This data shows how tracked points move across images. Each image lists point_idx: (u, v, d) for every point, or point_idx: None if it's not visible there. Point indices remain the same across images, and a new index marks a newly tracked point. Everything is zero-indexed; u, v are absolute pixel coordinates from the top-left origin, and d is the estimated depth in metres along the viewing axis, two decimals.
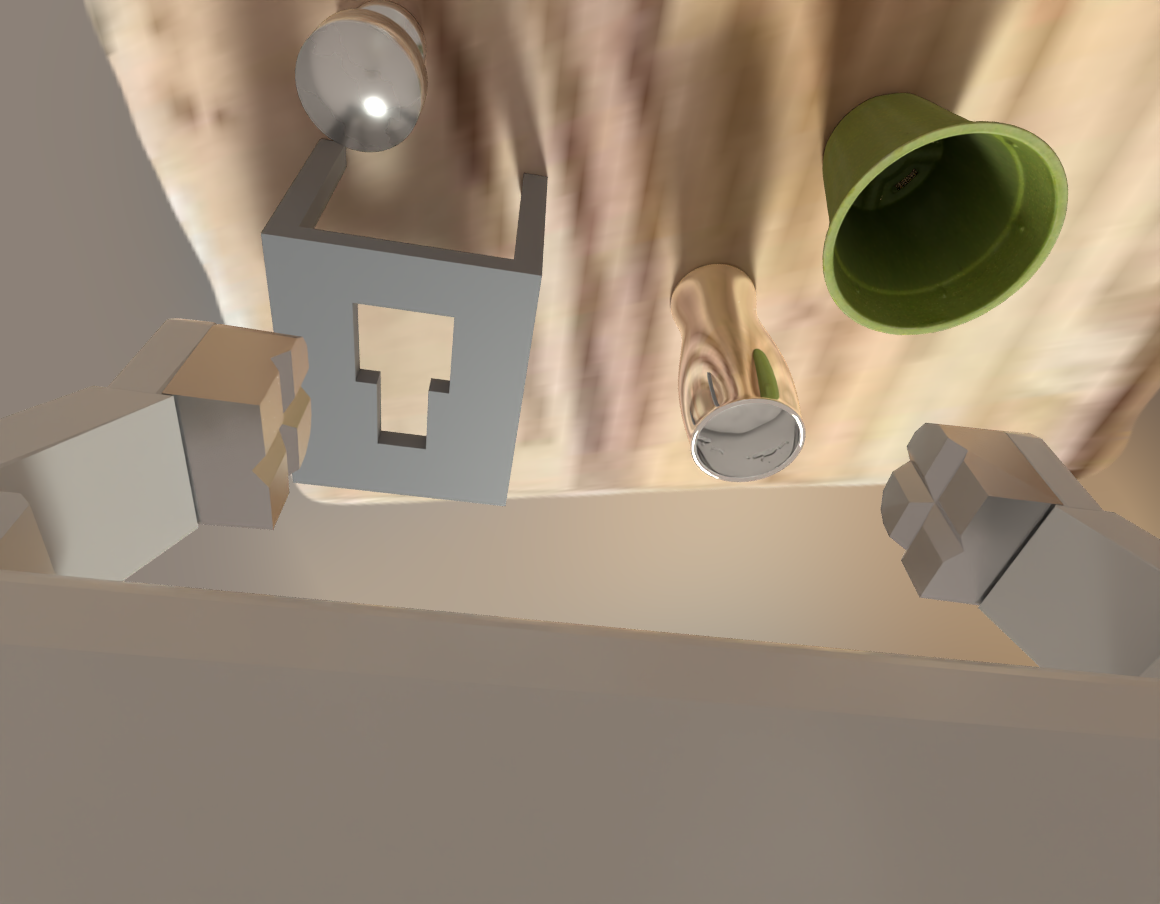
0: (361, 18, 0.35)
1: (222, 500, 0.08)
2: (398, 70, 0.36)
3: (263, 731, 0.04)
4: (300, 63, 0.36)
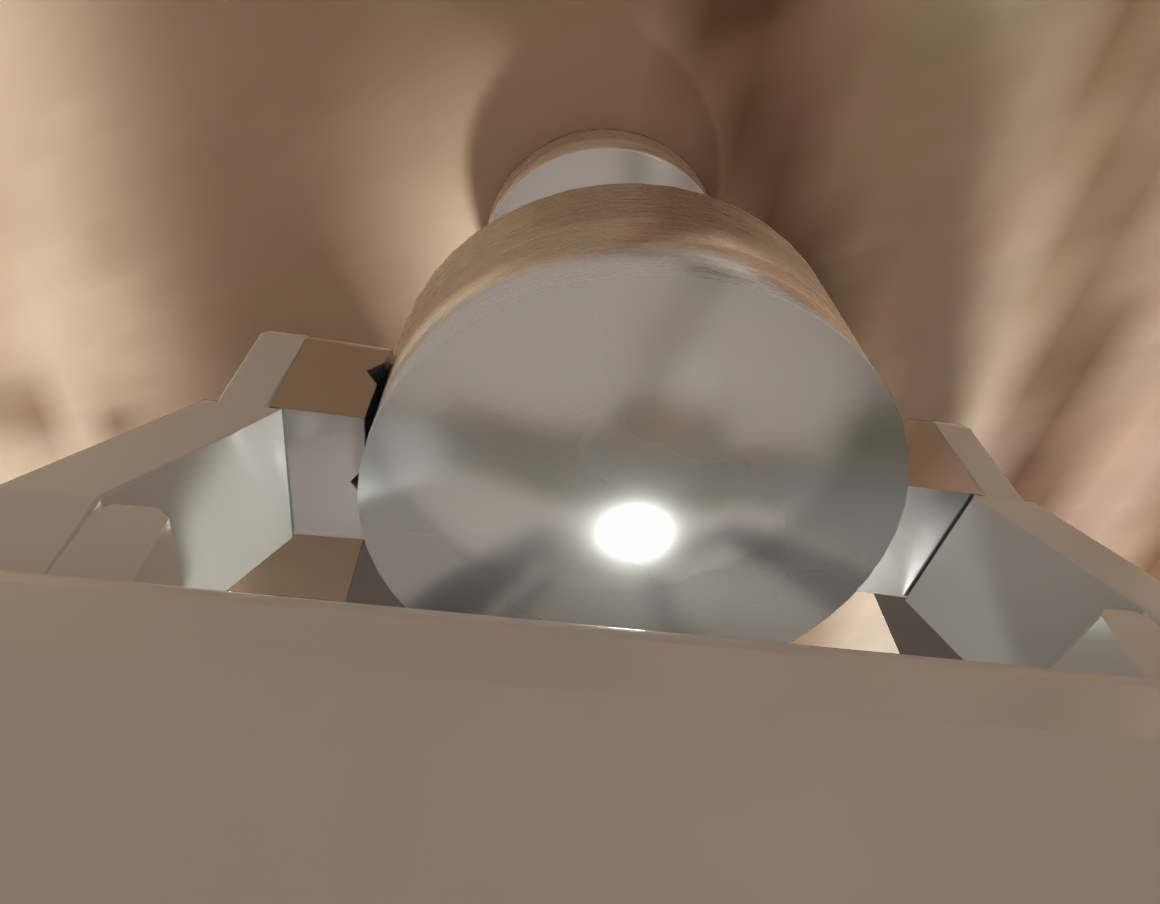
0: (697, 244, 0.07)
1: (318, 510, 0.08)
2: (837, 460, 0.08)
3: (263, 731, 0.04)
4: (387, 441, 0.07)
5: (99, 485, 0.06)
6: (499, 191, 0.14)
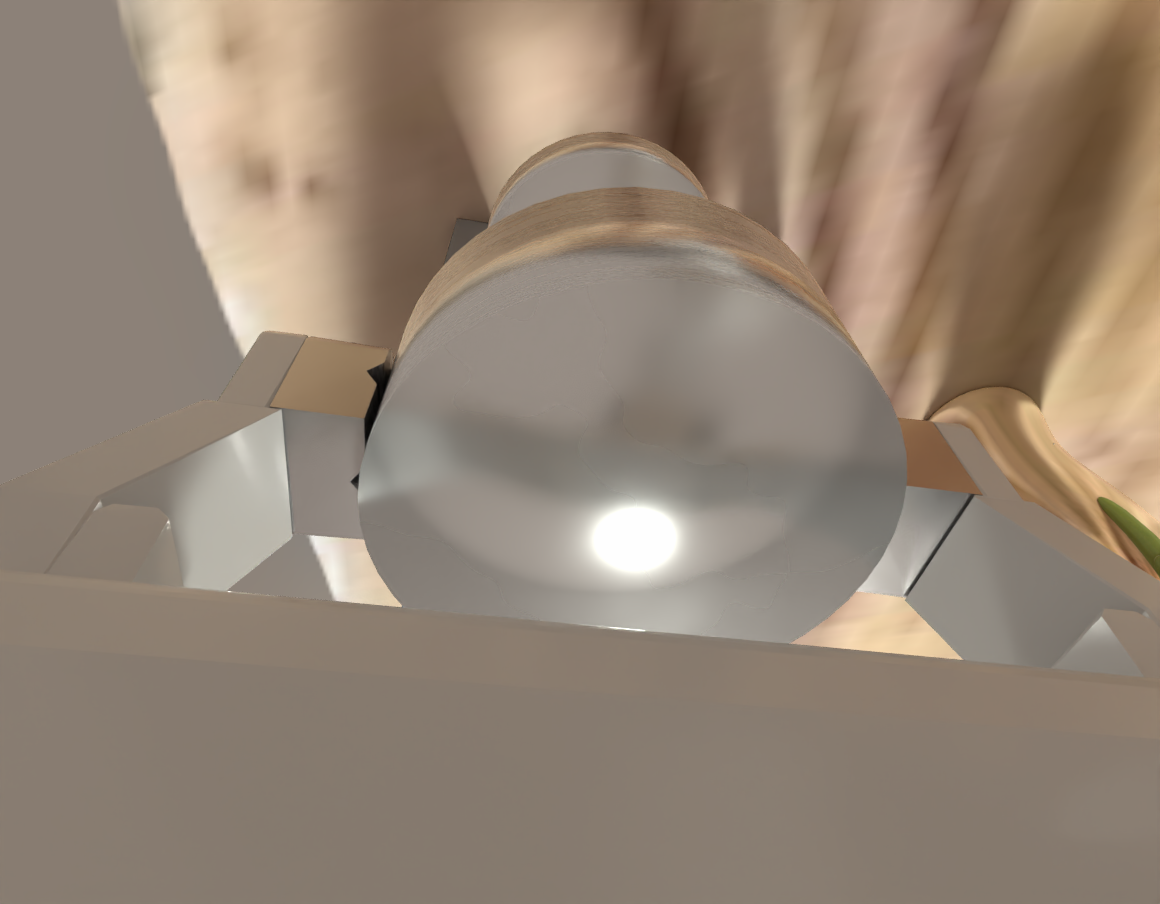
0: (694, 248, 0.07)
1: (317, 510, 0.08)
2: (835, 462, 0.08)
3: (263, 731, 0.04)
4: (387, 444, 0.08)
5: (99, 485, 0.06)
6: (499, 194, 0.14)
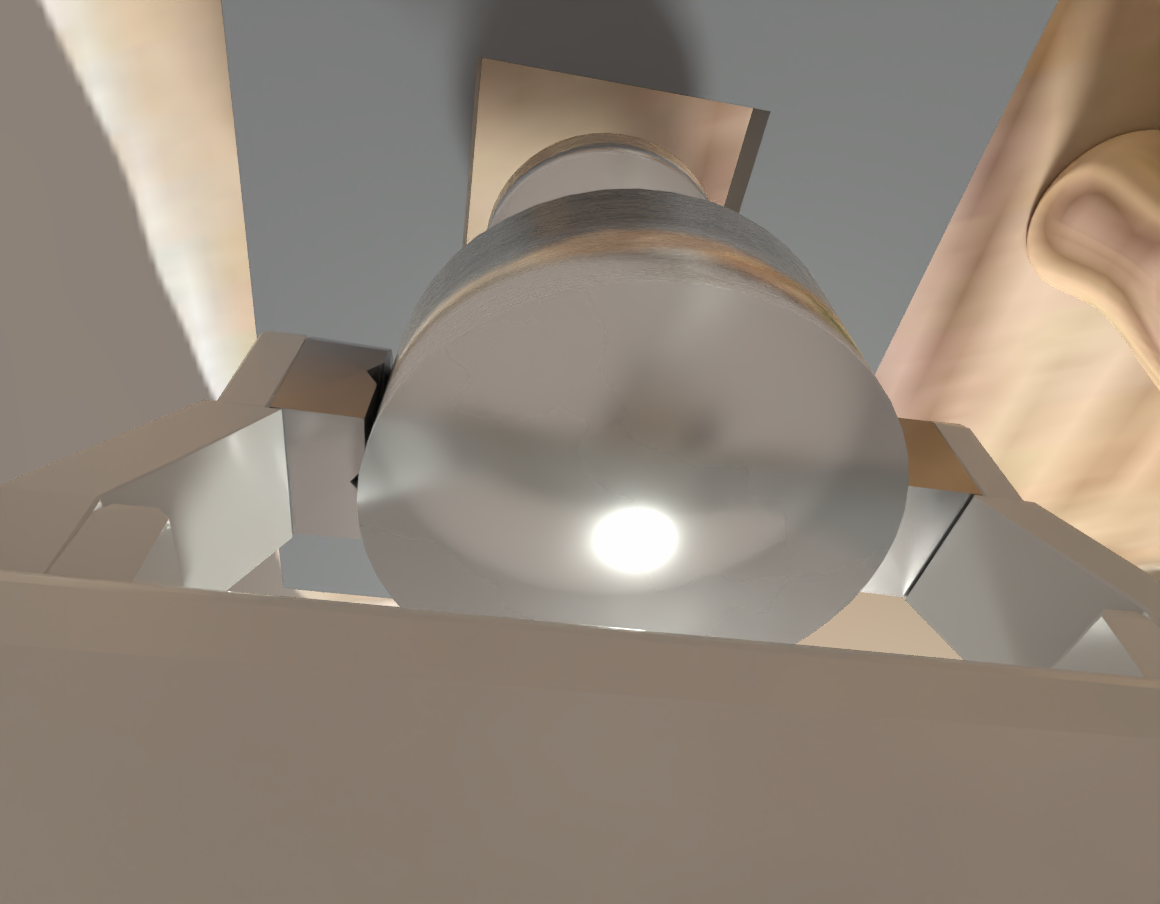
0: (696, 251, 0.07)
1: (318, 510, 0.08)
2: (837, 465, 0.08)
3: (263, 731, 0.04)
4: (386, 447, 0.07)
5: (99, 485, 0.06)
6: (499, 194, 0.14)
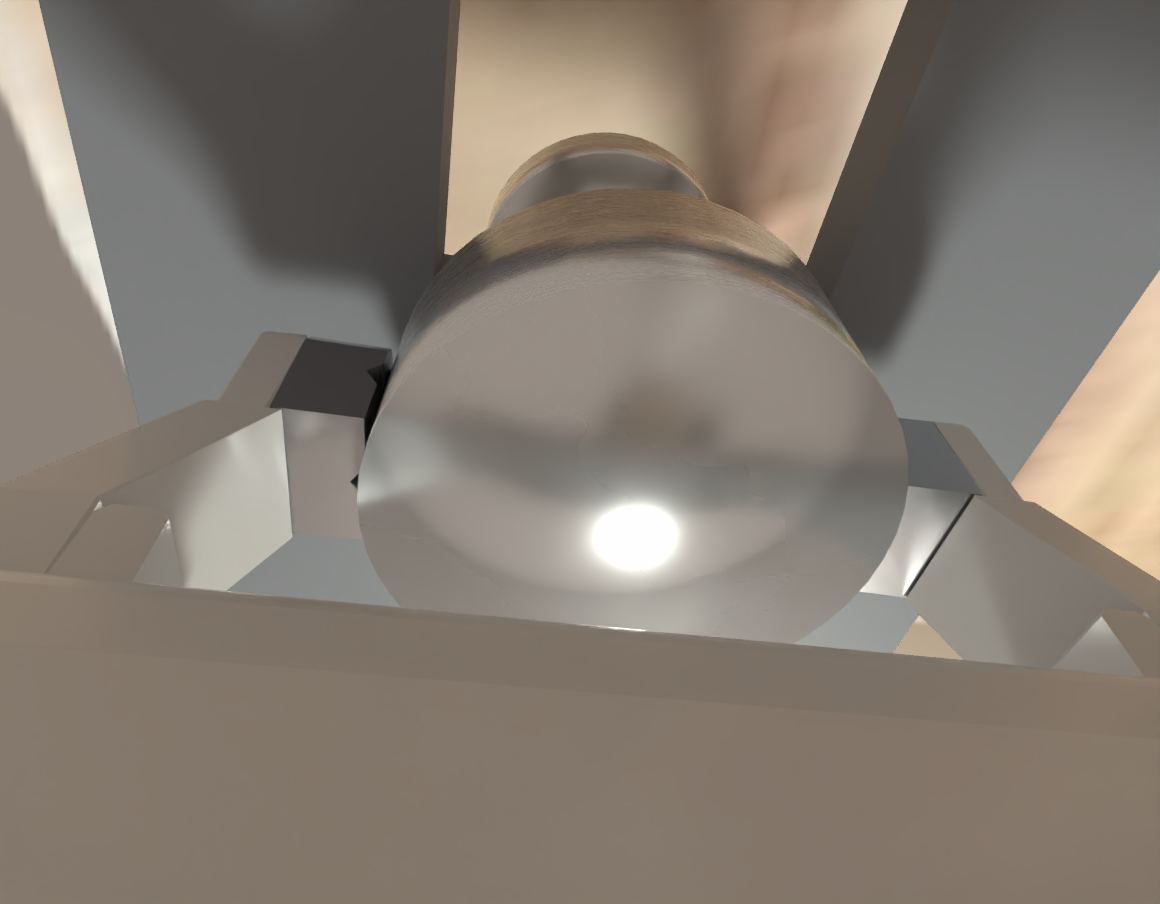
0: (696, 250, 0.07)
1: (318, 510, 0.08)
2: (837, 464, 0.08)
3: (263, 731, 0.04)
4: (387, 446, 0.08)
5: (99, 485, 0.06)
6: (499, 194, 0.14)
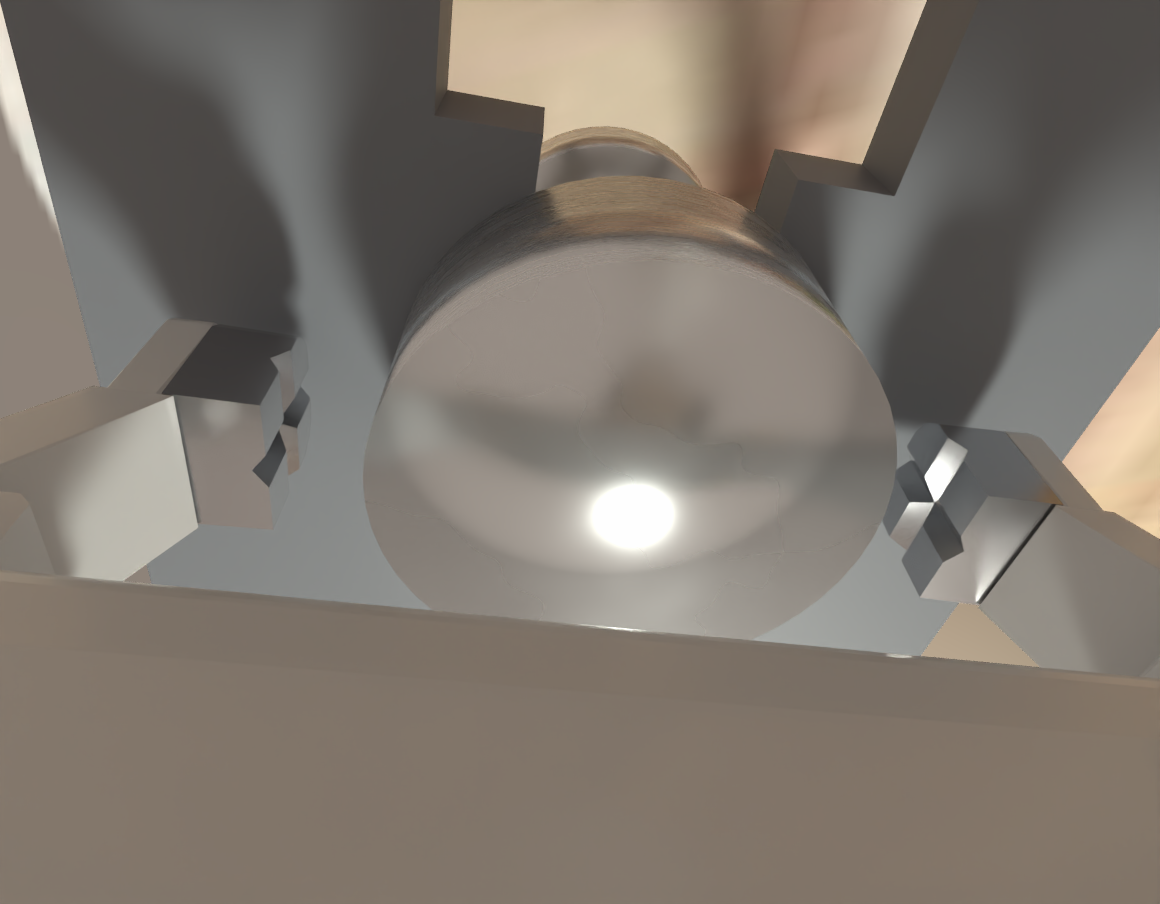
0: (691, 233, 0.07)
1: (222, 500, 0.08)
2: (827, 442, 0.08)
3: (263, 731, 0.04)
4: (392, 423, 0.08)
5: None
6: None
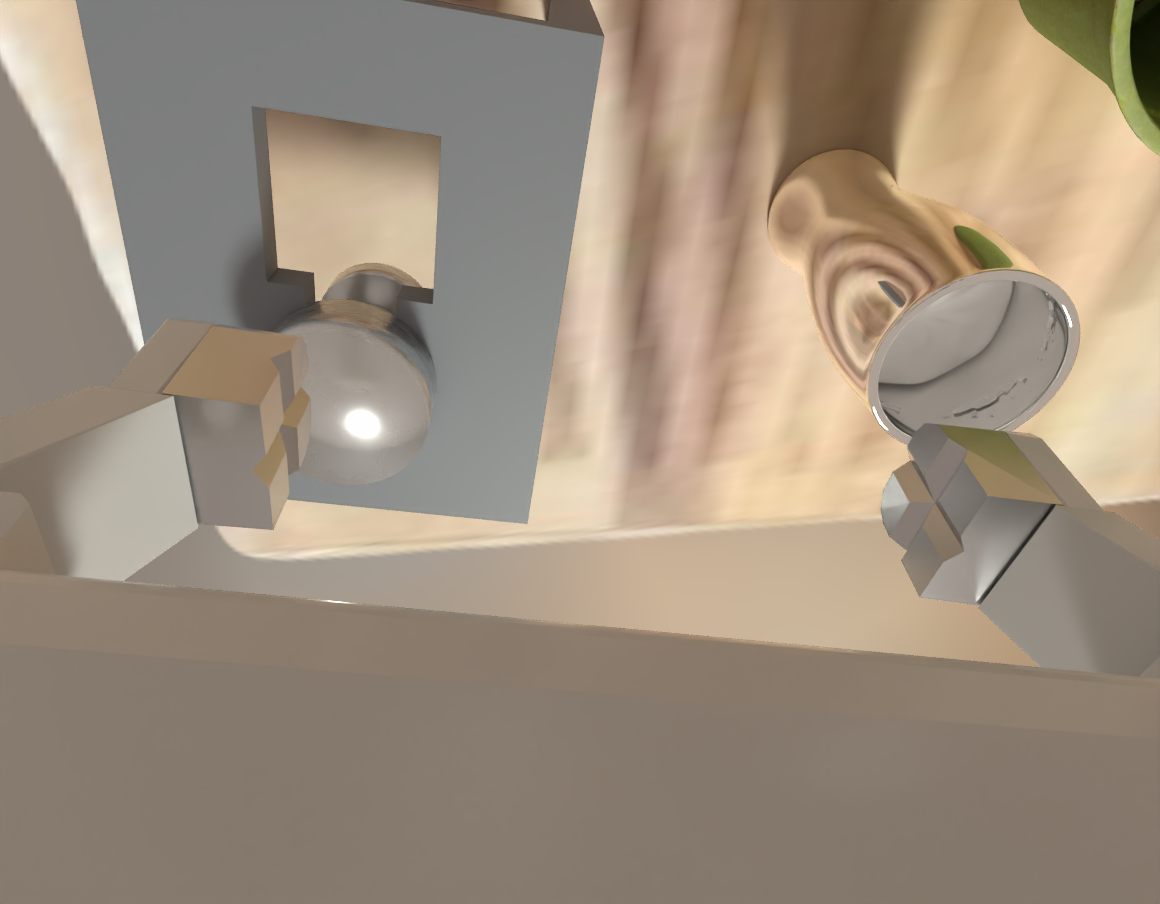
0: (340, 321, 0.24)
1: (222, 500, 0.08)
2: (395, 388, 0.24)
3: (263, 731, 0.04)
4: None
5: None
6: None
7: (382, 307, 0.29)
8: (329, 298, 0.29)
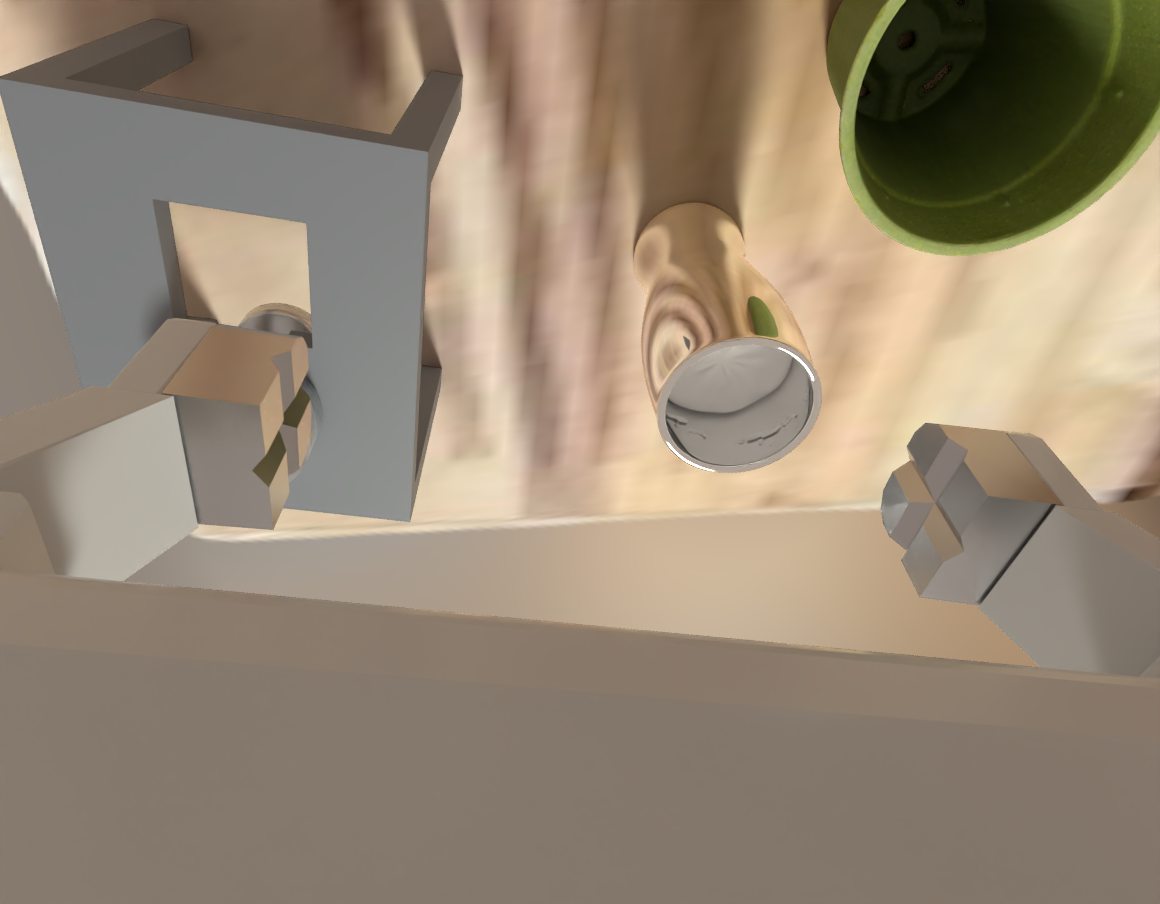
0: None
1: (222, 500, 0.08)
2: None
3: (263, 731, 0.04)
4: None
5: None
6: None
7: None
8: None
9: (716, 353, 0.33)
